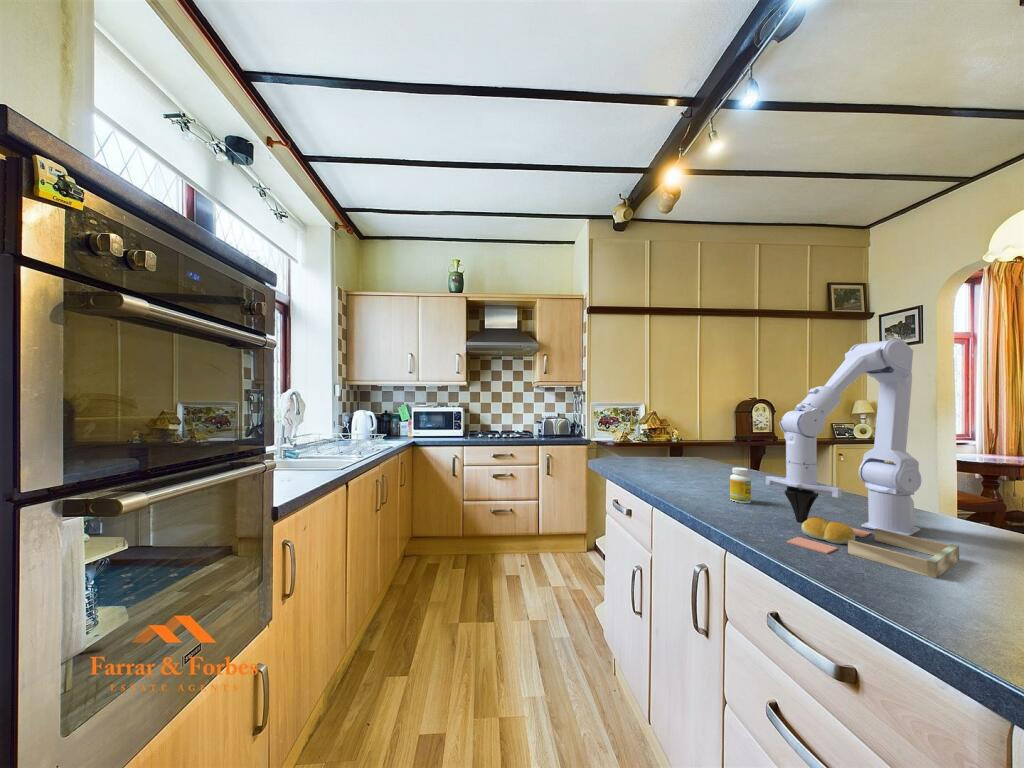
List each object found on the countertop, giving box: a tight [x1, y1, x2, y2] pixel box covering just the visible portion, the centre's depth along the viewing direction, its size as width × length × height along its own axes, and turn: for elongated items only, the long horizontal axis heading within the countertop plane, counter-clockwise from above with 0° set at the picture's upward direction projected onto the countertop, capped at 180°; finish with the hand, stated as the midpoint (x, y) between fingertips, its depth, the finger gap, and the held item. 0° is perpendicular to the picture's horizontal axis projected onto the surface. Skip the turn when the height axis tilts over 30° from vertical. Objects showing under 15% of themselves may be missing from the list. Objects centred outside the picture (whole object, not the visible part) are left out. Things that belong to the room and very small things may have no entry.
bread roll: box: [801, 516, 856, 545], centre depth 86 cm, size 8×9×4 cm
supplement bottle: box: [729, 466, 752, 504], centre depth 115 cm, size 5×5×10 cm
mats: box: [786, 527, 872, 555], centre depth 86 cm, size 23×7×1 cm, turn 121°
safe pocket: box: [847, 528, 960, 579], centre depth 76 cm, size 15×12×3 cm
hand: (801, 522), depth 91 cm, fingers closed
